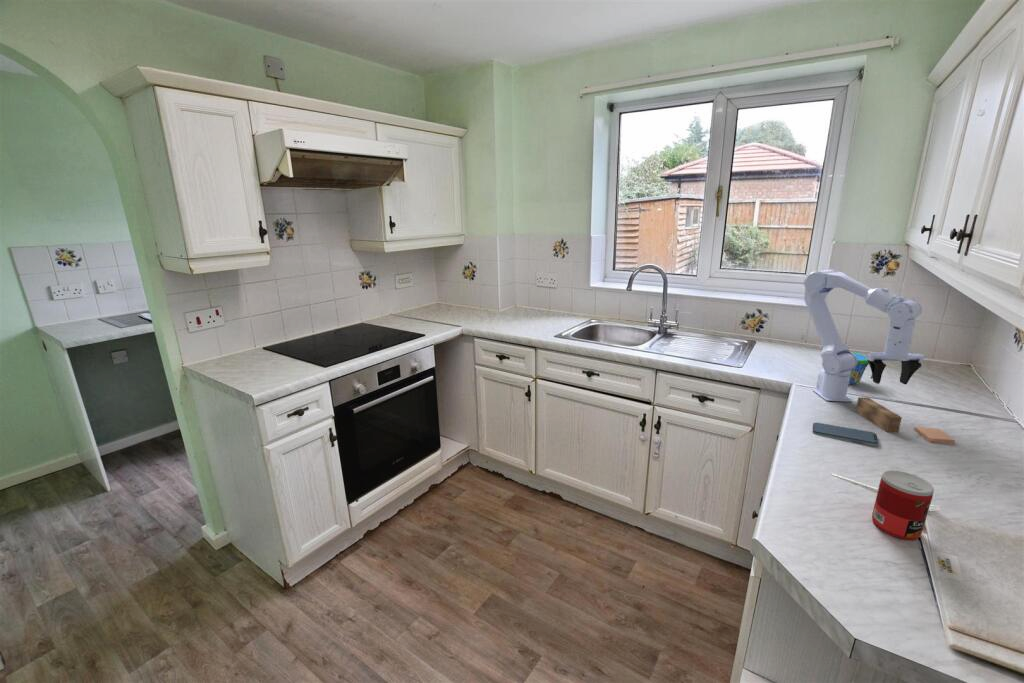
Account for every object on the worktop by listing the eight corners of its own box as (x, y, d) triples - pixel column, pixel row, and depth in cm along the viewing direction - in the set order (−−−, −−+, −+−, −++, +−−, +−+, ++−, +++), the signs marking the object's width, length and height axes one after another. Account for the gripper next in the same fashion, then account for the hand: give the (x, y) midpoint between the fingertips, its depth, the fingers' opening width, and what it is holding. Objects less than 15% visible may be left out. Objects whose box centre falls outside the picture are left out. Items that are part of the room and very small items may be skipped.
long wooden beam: (855, 411, 145) (858, 397, 143) (865, 412, 144) (868, 397, 143) (886, 432, 131) (890, 417, 130) (897, 432, 131) (901, 417, 130)
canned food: (914, 547, 87) (928, 498, 84) (864, 524, 94) (876, 478, 91) (925, 530, 92) (939, 483, 89) (878, 510, 98) (889, 465, 95)
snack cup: (878, 385, 165) (884, 359, 162) (862, 391, 160) (868, 363, 157) (832, 372, 178) (837, 347, 175) (816, 377, 173) (821, 352, 170)
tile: (914, 426, 132) (929, 438, 125) (938, 428, 131) (955, 440, 124) (913, 431, 132) (928, 443, 126) (937, 433, 131) (953, 445, 124)
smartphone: (813, 421, 137) (876, 432, 129) (812, 426, 137) (875, 437, 129) (812, 431, 131) (878, 443, 123) (811, 436, 131) (877, 449, 123)
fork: (832, 474, 113) (833, 467, 112) (939, 512, 98) (941, 504, 97) (827, 478, 111) (828, 472, 110) (936, 518, 96) (938, 511, 95)
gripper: (880, 343, 133) (872, 387, 137) (935, 344, 131) (925, 388, 135) (865, 337, 140) (857, 378, 143) (917, 338, 138) (908, 379, 142)
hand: (889, 382), depth 140 cm, fingers open, 7 cm apart
